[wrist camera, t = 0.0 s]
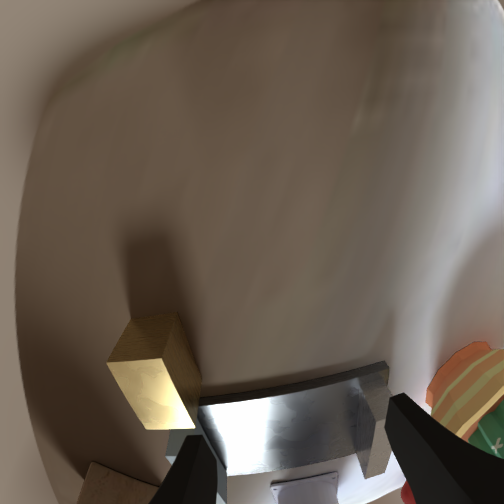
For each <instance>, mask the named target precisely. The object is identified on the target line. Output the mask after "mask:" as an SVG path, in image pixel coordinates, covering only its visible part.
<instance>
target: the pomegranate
mask: <svg viewBox="0 0 504 504" xmlns="http://www.w3.org/2000/svg"><path fill="white" fill-rule="evenodd" d="M401 498H402V500H403V502H404V503H405V504H416V503H415V499H414V496H413V493H412V491H411V488H410V486H409V484H408V482H407V480H406V482H405V484H404V485H403V487H402V490H401Z"/></svg>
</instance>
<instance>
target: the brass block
mask: <svg viewBox="0 0 504 504" xmlns="http://www.w3.org/2000/svg"><path fill="white" fill-rule="evenodd" d="M106 363H107V365H108V367H109V369H110V371H111V372H112V374H113V376H114V378H115V380H116V381H117V383H118V385H119V387H120V388H121V390H122V392H123V393H124V395H125V397H126V399H127V400H128V402H129V403H130V405H131V407H132V408H133V410H134V411H135V413H136V415H137V416H138V418H139V419H140V421H141V422H142V424H143V425H144V427H145V428H146V429H186V428H196V420H197V412H198V404H199V397H200V389H201V382H202V378H201V375H200V372H199V370H198V367H197V365H196V362H195V360H194V357H193V354H192V352H191V349H190V346H189V343H188V341H187V338H186V335H185V332H184V330H183V327H182V324H181V321H180V318H179V315H178V312H175V313H168V314H162V315H155V316H148V317H141V318H134V319H131V320H130V321H129V323H128V325H127V327H126V328H125V330H124V332H123V333H122V335H121V337H120V339H119V341H118V342H117V344H116V346H115V348H114V349H113V351H112V353H111V355H110V357H109V359H108V360H107V362H106Z"/></svg>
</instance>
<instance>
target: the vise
mask: <svg viewBox="0 0 504 504" xmlns="http://www.w3.org/2000/svg"><path fill="white" fill-rule="evenodd" d="M388 377H389V366H388V365H387V363H386V362H385V361H382V362H379V363H375V364H372V365H369V366H365V367H362V368H358V369H354V370H351V371H347V372H343V373H339V374H335V375H331V376H327V377H323V378H318V379H314V380H309V381H305V382H300V383H295V384H290V385H285V386H280V387H274V388H268V389H262V390H256V391H250V392H243V393H236V394H228V395H220V396H211V397H201V398H199V404H198V412H197V419H198V421H199V423H200V425H201V427H202V429H203V431H204V433H205V434H206V436H207V438H208V440H209V442H210V444H211V446H212V447H213V449H214V451H215V453H216V455H217V456H218V458H219V460H220V462H221V464H222V465H223V467H224V469H225V470H226V472H227V476H231V475H243V474H253V473H261V472H269V471H276V470H282V469H288V468H294V467H300V466H305V465H310V464H314V463H319V462H323V461H328V460H332V459H336V458H340V457H344V456H347V455H351V454H354V453H356V455H357V457H358V460H359V463H360V466H361V469H362V472H363V475H364V478H365V479H367V478H370V477H373V476H376V475H379V474H382V473H385V470H386V467H387V464H388V461H389V458H390V455H391V451H392V449H391V446H390V443H389V441H388V438H387V435H386V431H385V428H384V425H385V420H386V415H387V409H388V404H389V398H390V397H392V394H391V392H390V391H389V389H388V387H387V384H388Z"/></svg>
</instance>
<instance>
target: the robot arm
mask: <svg viewBox="0 0 504 504" xmlns="http://www.w3.org/2000/svg"><path fill="white" fill-rule="evenodd" d="M384 428H385V431H386V435H387V438H388V441H389V443H390V446H391V449H392V451H393V453H394V455H395V457H396V459H397V461H398V463H399V465H400V467H401V470H402V472H403V474H404V476H405V478H406V480H407V482H408V484H409V486H410V488H411V491H412V493H413V496H414V499H415V503H416V504H504V459H502V458H500V457H497V456H494V455H492V454H489V453H487V452H485V451H483V450H481V449H479V448H477V447H475V446H473V445H471V444H470V443H468V442H466V441H465V440H463V439H461V438H460V437H458V436H457V435H455V434H454V433H452V432H451V431H450V430H448V429H447V428H446V427H444V426H443V425H442V424H440V423H439V422H438V421H436V420H435V419H434V418H433V417H431V416H430V415H429V414H428V413H427V412H426V411H424V410H423V409H422V408H421V407H420V406H419V405H417V404H416V403H415V402H414V401H413V400H412V399H411V398H410V397H409V396H407V395H406V394H405V393H401V394H398V395H395V396H392V397H390V398H389V404H388V409H387V415H386V420H385V425H384ZM337 484H338V473H337V472H333V473H329V474H325V475H321V476H316V477H311V478H306V479H301V480H296V481H290V482H284V483H277V484H272V485H270V489H271V491H272V494H273V496H274V499H275V501H276V503H277V504H339V503H338V499H337ZM217 486H218V474H217V460H216V458H215V456H214V455H213V453H212V451H211V449H210V447H209V446H208V444H207V442H206V440H205V438H204V437H203V435H202V434H201V435H187V436H186V437H185V439H184V442H183V444H182V446H181V448H180V450H179V452H178V454H177V456H176V458H175V460H174V462H173V464H172V466H171V468H170V470H169V472H168V473H167V475H166V477H165V479H164V480H163V482H162V484H161V485H160V487H159V488H158V490H157V492H156V493H155V495H154V496H153V498H152V499H151V500H150V502H149V503H148V504H216V499H217Z"/></svg>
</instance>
